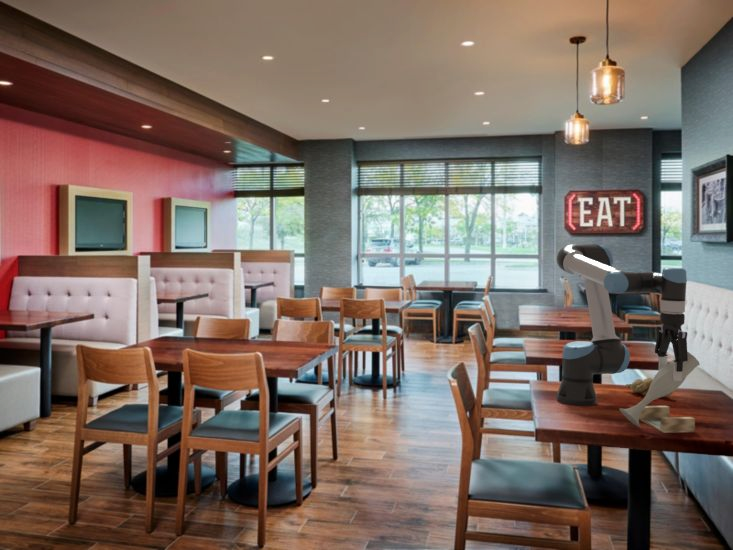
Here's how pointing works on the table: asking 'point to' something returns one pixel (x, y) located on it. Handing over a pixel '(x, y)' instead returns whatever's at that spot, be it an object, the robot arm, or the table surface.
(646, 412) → the u rest
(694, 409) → the table surface
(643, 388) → the ginger root
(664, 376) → the vase
